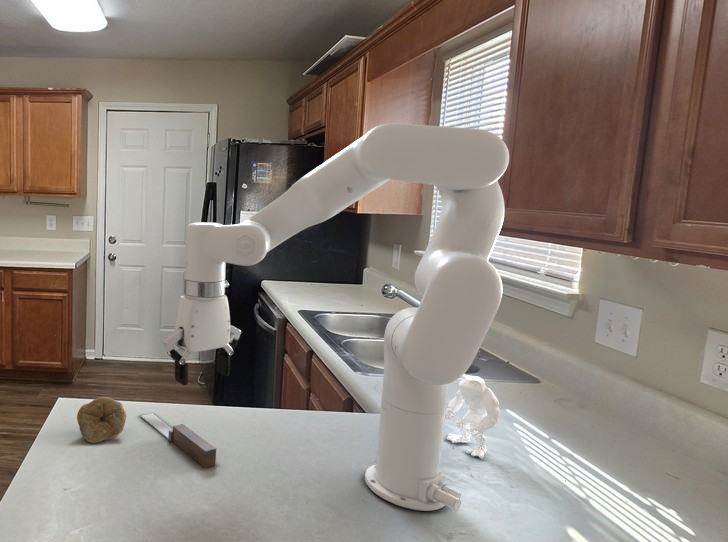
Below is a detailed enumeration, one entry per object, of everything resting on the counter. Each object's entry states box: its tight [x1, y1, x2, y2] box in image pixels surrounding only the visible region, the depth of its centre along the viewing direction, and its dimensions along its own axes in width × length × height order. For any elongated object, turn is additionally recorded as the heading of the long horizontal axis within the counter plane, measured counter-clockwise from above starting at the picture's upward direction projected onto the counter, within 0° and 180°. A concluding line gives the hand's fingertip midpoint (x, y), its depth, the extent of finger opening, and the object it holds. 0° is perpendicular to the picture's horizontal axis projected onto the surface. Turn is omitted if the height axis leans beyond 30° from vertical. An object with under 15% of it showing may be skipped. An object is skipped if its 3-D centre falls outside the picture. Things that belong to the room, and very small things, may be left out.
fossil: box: [76, 396, 127, 444], centre depth 102 cm, size 9×4×10 cm
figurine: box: [444, 373, 501, 460], centre depth 100 cm, size 11×7×15 cm, turn 7°
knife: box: [140, 412, 217, 469], centre depth 101 cm, size 23×3×3 cm, turn 30°
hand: (202, 378), depth 94 cm, fingers open, 9 cm apart
